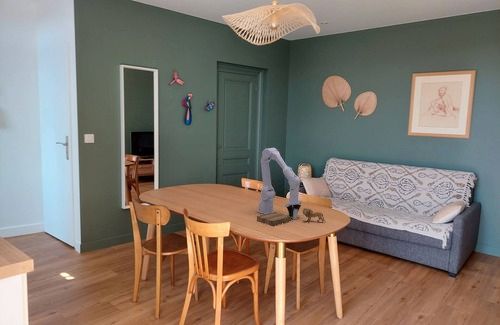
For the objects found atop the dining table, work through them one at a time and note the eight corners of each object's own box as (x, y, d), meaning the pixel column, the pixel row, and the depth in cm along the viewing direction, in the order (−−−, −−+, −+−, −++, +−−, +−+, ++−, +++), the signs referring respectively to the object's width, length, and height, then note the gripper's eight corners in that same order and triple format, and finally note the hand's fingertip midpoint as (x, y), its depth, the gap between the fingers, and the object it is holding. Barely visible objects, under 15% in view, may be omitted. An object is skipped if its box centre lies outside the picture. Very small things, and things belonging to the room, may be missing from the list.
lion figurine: (302, 222, 227) (303, 208, 226) (301, 220, 232) (302, 206, 231) (326, 223, 227) (327, 209, 226) (324, 220, 233) (325, 207, 231)
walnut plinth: (256, 220, 228) (257, 216, 228) (274, 216, 239) (274, 212, 239) (273, 226, 218) (273, 221, 218) (290, 221, 229) (291, 216, 229)
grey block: (288, 218, 237) (289, 209, 236) (292, 217, 240) (293, 208, 239) (293, 219, 234) (293, 210, 233) (297, 218, 237) (297, 209, 236)
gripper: (291, 197, 227) (290, 219, 229) (306, 194, 237) (305, 215, 239) (282, 196, 232) (282, 216, 234) (297, 193, 242) (296, 213, 244)
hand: (293, 216), depth 237 cm, fingers open, 4 cm apart
